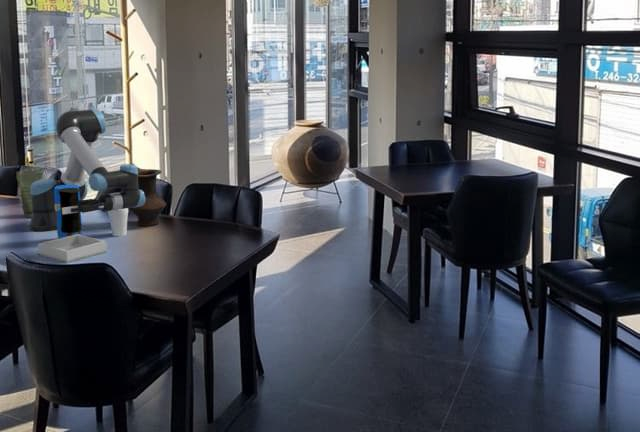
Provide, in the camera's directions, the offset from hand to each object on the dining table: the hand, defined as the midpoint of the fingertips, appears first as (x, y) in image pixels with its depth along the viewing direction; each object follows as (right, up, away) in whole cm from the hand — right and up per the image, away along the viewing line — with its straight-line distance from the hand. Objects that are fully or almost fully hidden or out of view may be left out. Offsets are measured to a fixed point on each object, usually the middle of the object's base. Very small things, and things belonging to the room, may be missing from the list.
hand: (58, 209), depth 312 cm
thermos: (-5, -14, +30) cm, 33 cm away
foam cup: (+15, -12, +40) cm, 44 cm away
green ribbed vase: (-40, -3, +76) cm, 86 cm away
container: (+4, -9, +5) cm, 11 cm away
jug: (+23, -7, +60) cm, 65 cm away
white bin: (+3, -19, +8) cm, 21 cm away
